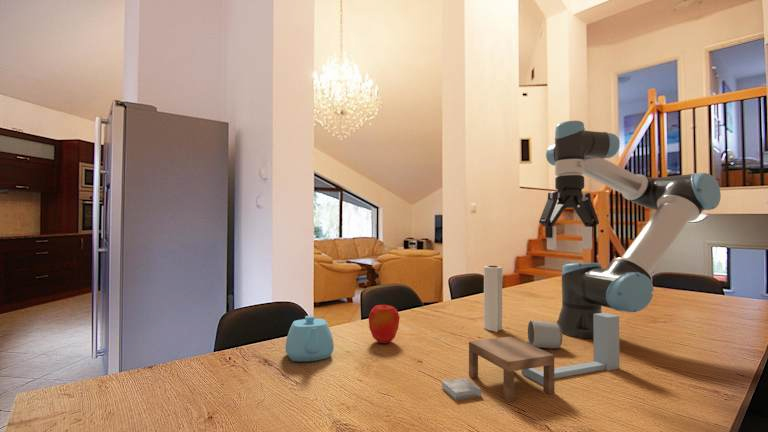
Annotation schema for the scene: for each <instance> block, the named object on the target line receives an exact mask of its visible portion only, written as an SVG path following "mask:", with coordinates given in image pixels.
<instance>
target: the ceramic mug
mask: <svg viewBox="0 0 768 432" xmlns="http://www.w3.org/2000/svg"><path fill="white" fill-rule="evenodd" d="M527 339H528V344H529V345H532V346H534V347H536V348H539V349H559V348H561V346H562V344H563V333H562V330H561V328H560V326H559V325H558V324H557V322H556V323H555V322H551V321H544V320H543V321H540V320H536V319H535V320H532V319H531V320H529V322H528V325H527Z"/></svg>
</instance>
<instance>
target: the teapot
mask: <svg viewBox="0 0 768 432" xmlns="http://www.w3.org/2000/svg"><path fill="white" fill-rule="evenodd" d="M332 334H333V333H332V331H331V329H330V327H329V324H328V323H327V321H326V320H325V319H323V318H316V316H315V315H312V314H311V315H305V316H304V318H303V319H297V320H293V322H292V324H291V326H290V328H289V330H288V334H287V336H286V340H285V353H286V355H287V356H288V359H290V360H291V361H292V362H314V361H320V360H321V361H322V360H325V359H328V358H330V357H331V356H332V354H333V351H334V340H333V335H332Z"/></svg>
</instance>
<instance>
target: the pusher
mask: <svg viewBox="0 0 768 432" xmlns="http://www.w3.org/2000/svg"><path fill="white" fill-rule="evenodd" d="M593 327H594V338H593V361H590V362H583V363H578V364H570V365H566V366H560V367H554V380H555V379H559V378H565V377H572V376H575V375H582V374H586V373H593V372H600V371H612V370H618V369H620V315H617V314H616V315H615V314H612V313H607V312H602V313H596V314H593ZM521 375H523V376H525V377H526V378H528V379H529V380H532V381H533V382H535V383H538V384H540V385H541V386H543V387H544V369H542V370H540V369H536V368H530V369H524V370H521Z"/></svg>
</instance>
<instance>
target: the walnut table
mask: <svg viewBox="0 0 768 432" xmlns="http://www.w3.org/2000/svg"><path fill="white" fill-rule="evenodd" d="M479 357H481V358H482V359H485V360H486V361H487V362H489V363H491V364H493V365H495V366H497V367H498V368H501V369H502V370H503V400H504V401H506V402H508V403H511V402H514V401H515V372H517V371H522V370H524V369H530V368H534V369H536V368H541V367H543V370H544V386H543V392H545V393H547V394H548V395H550V394H555V379H554V368H555V354H554V353H551V352H548V351H545V350H543V349H542V348H536V347H534V346H532V345H529V343H527V342H524V341H522V340H519V339H517V338H515V337H512V336H505V337H504V336H503V337H496V338H494V337H493V338H487V339H486V338H485V339H479V340H471V341H468V377H469V378H471V379H474V378H475V379H477V378H479Z"/></svg>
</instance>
